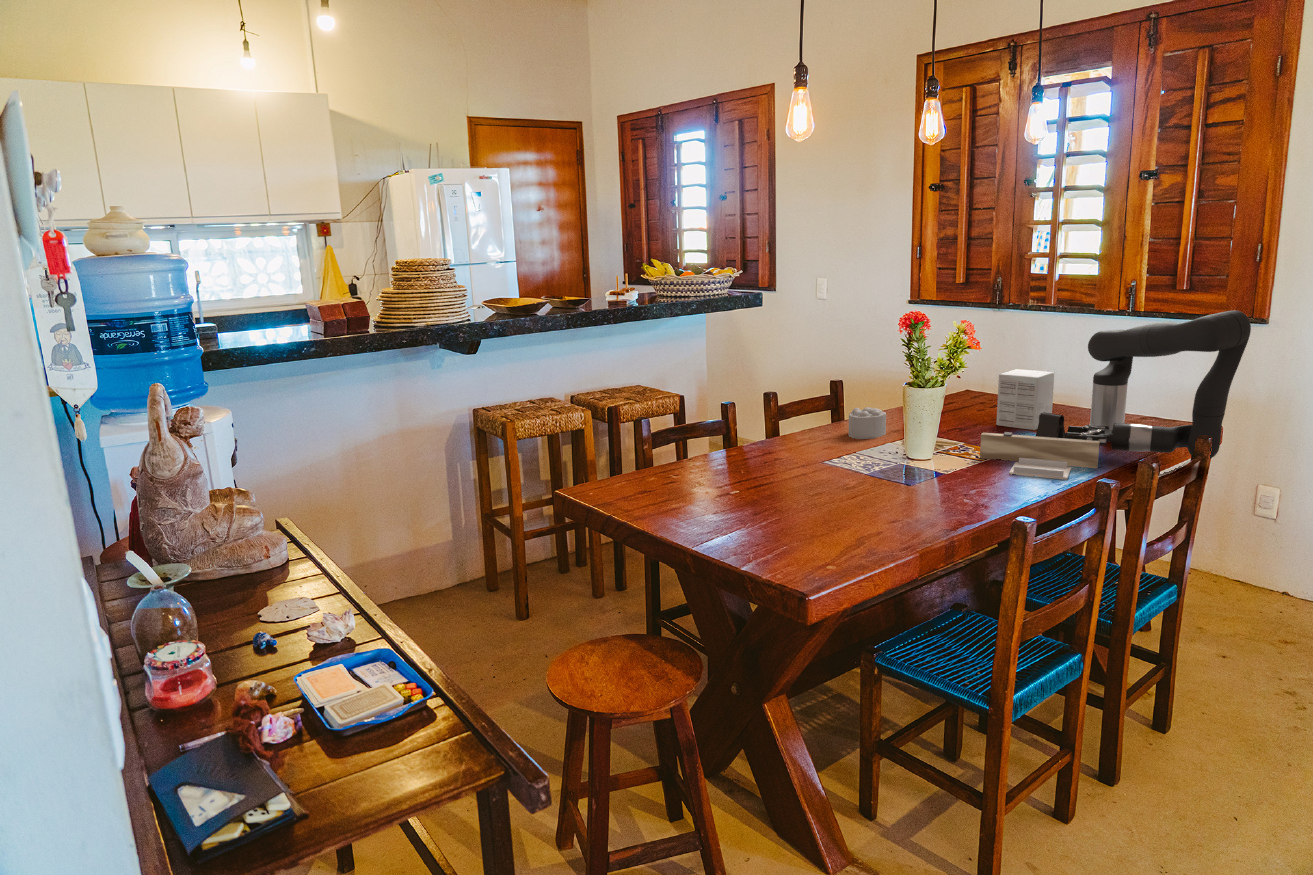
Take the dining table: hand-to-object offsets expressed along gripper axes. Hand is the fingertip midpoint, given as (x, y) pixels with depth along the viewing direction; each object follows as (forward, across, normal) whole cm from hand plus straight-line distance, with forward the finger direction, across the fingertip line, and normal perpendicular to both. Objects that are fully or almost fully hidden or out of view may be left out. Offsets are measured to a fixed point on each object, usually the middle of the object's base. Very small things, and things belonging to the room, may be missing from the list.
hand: (1066, 432), depth 235 cm
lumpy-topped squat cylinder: (+60, -6, +7) cm, 61 cm away
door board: (+6, +10, +7) cm, 13 cm away
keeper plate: (+4, +20, +7) cm, 21 cm away
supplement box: (+16, -38, +7) cm, 42 cm away
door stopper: (+4, 0, +7) cm, 8 cm away
